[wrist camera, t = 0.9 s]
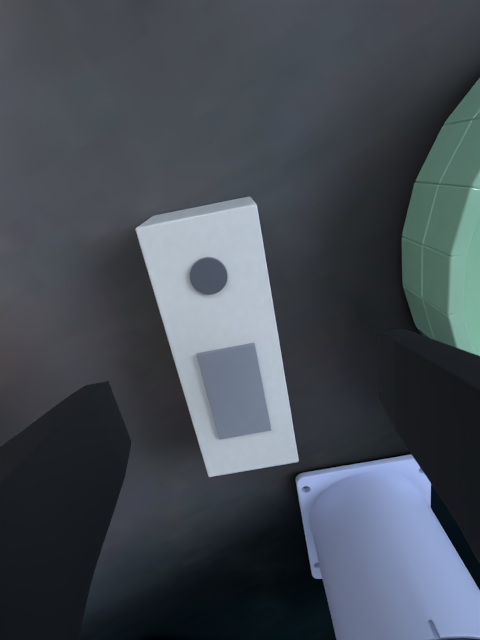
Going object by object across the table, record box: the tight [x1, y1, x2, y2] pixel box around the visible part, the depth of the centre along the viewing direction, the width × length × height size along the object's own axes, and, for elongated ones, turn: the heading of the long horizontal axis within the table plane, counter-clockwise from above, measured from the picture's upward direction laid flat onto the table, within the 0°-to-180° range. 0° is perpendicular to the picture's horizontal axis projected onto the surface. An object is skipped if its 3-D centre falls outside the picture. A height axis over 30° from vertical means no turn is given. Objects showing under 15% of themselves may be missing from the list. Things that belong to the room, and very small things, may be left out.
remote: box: [135, 196, 299, 477], centre depth 17 cm, size 12×4×4 cm, turn 11°
